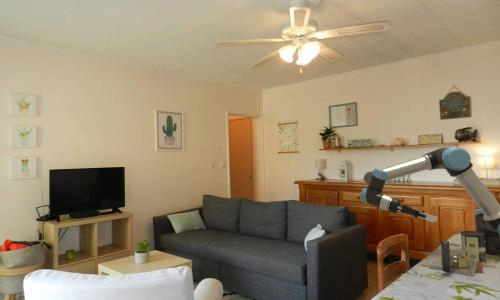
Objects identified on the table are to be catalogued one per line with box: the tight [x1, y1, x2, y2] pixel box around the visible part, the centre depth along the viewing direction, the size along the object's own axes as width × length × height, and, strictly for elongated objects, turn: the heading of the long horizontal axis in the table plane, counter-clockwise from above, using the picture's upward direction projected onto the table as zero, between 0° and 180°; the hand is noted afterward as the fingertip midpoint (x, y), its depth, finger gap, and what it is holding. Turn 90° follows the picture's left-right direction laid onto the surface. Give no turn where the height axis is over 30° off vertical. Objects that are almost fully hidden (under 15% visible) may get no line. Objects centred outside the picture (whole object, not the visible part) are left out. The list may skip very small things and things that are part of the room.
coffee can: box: [460, 230, 487, 265], centre depth 169 cm, size 10×10×14 cm
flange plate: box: [428, 253, 484, 277], centre depth 160 cm, size 18×20×6 cm
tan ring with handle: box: [440, 240, 471, 273], centre depth 158 cm, size 21×12×13 cm, turn 134°
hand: (435, 219), depth 161 cm, fingers open, 13 cm apart
